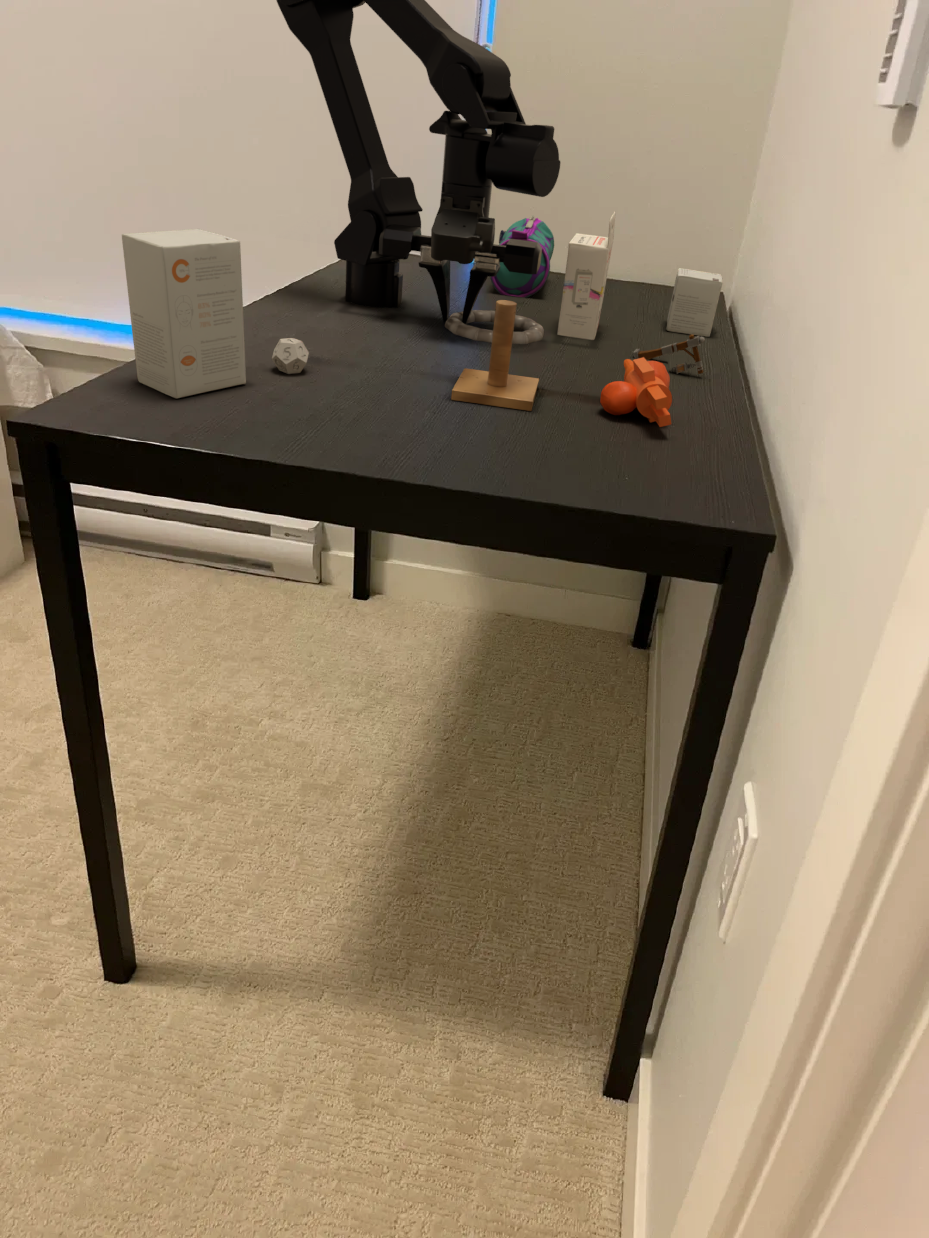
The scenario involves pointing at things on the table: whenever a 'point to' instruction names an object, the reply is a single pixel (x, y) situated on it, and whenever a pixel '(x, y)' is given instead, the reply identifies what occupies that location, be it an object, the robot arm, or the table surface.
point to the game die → (290, 355)
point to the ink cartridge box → (585, 284)
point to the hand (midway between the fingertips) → (454, 323)
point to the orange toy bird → (640, 391)
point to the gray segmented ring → (459, 328)
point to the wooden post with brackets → (675, 348)
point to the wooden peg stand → (498, 370)
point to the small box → (186, 310)
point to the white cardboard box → (694, 302)
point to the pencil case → (523, 282)
